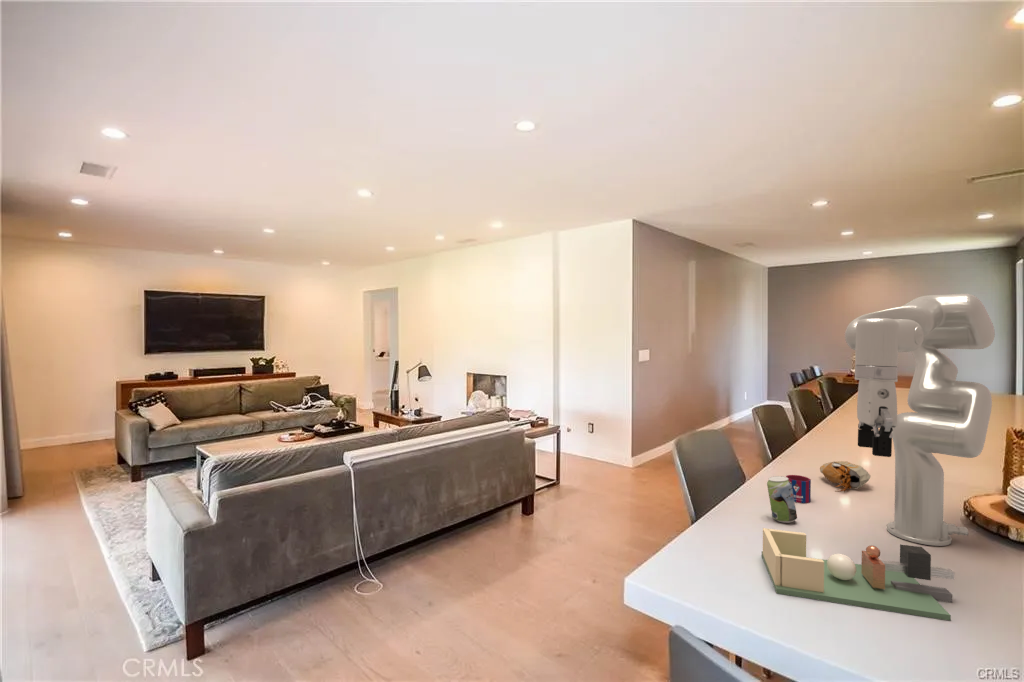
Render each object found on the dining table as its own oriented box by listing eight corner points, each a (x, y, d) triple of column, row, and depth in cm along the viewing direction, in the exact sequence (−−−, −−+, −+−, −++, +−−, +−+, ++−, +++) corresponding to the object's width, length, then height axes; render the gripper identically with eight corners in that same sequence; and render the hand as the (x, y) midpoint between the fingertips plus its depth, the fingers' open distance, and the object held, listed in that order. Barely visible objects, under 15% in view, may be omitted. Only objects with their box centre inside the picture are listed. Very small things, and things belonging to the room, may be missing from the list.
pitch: (926, 577, 101) (927, 545, 101) (975, 624, 85) (975, 585, 84) (761, 555, 111) (761, 525, 111) (776, 593, 95) (776, 558, 95)
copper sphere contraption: (943, 584, 95) (944, 547, 95) (960, 600, 90) (961, 561, 89) (860, 572, 100) (860, 537, 100) (871, 587, 94) (872, 549, 94)
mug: (783, 500, 148) (783, 478, 148) (789, 491, 155) (789, 471, 155) (808, 505, 143) (809, 482, 143) (813, 496, 151) (813, 475, 151)
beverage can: (800, 526, 128) (801, 481, 128) (771, 523, 129) (771, 480, 129) (791, 517, 134) (792, 475, 134) (763, 515, 135) (764, 473, 135)
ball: (851, 574, 100) (851, 551, 100) (860, 586, 95) (860, 562, 95) (823, 571, 102) (823, 548, 101) (831, 582, 97) (831, 558, 97)
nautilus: (861, 501, 148) (807, 492, 159) (876, 482, 162) (826, 475, 174) (859, 476, 148) (805, 468, 159) (875, 459, 162) (824, 453, 173)
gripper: (913, 377, 95) (911, 462, 95) (882, 373, 111) (880, 445, 111) (868, 375, 98) (866, 457, 98) (844, 371, 114) (842, 442, 114)
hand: (873, 451), depth 105 cm, fingers open, 9 cm apart
